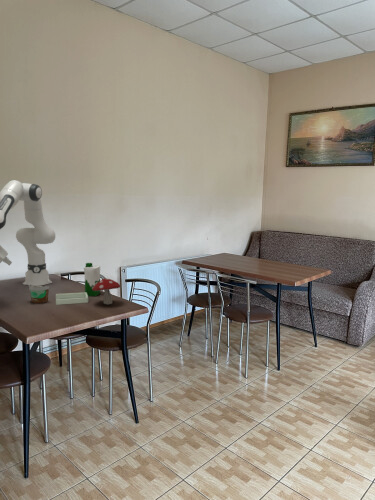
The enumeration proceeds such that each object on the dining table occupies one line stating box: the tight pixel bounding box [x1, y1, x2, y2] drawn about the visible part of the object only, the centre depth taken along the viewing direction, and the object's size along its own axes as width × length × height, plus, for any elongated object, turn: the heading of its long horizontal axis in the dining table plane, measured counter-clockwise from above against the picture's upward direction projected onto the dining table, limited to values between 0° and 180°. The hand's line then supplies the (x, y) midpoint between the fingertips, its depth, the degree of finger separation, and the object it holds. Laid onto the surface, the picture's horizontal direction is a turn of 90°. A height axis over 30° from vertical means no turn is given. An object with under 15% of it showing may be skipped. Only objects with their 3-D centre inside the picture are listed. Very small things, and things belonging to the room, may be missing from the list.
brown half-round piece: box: [28, 284, 51, 305], centre depth 222 cm, size 12×6×10 cm, turn 82°
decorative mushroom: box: [92, 277, 121, 305], centre depth 222 cm, size 16×16×15 cm
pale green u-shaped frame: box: [55, 291, 89, 306], centre depth 228 cm, size 13×18×3 cm
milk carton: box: [83, 262, 101, 297], centre depth 241 cm, size 9×9×20 cm
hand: (10, 264), depth 215 cm, fingers closed
